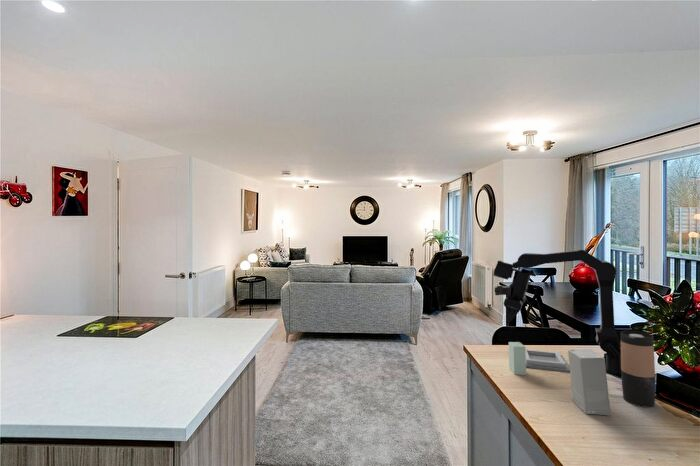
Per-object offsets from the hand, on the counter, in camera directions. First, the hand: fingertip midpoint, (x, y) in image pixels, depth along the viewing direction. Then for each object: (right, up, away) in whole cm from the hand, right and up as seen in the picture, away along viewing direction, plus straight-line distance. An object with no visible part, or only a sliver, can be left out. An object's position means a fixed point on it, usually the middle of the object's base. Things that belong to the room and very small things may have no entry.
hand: (509, 319), depth 137 cm
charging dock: (+10, -15, -6) cm, 19 cm away
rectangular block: (-4, -15, -15) cm, 22 cm away
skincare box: (+3, -15, -41) cm, 44 cm away
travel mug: (+20, -15, -38) cm, 45 cm away
